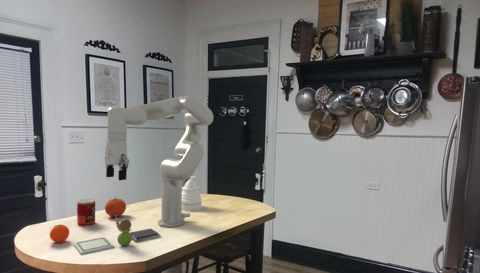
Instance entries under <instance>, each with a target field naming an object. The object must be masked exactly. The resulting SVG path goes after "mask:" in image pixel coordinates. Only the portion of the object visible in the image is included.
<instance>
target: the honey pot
mask: <svg viewBox="0 0 480 273" xmlns="http://www.w3.org/2000/svg"><path fill="white" fill-rule="evenodd" d="M195 179H196V176H195V175H192V176H191V177H190V178H189V179H187V180H186V182H185V184H184V186H182V211H183V212H193V211H199V210H201V209H202V205H203V204H202V202H203V200H202V197H201V193H200V191H199V189H200V187H199V186H197V184H196V182H195Z"/></svg>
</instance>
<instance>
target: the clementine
mask: <svg viewBox="0 0 480 273" xmlns="http://www.w3.org/2000/svg"><path fill="white" fill-rule="evenodd" d="M69 236H70V229H69V227H68V226H67V225H65V224H55V225H53V226H51V229H50V233H49V237H50V240H51V241H52V242H55V243H62V242H65V241H66V240H67V239H68V238H69Z"/></svg>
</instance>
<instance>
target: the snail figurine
mask: <svg viewBox="0 0 480 273" xmlns="http://www.w3.org/2000/svg"><path fill="white" fill-rule="evenodd" d="M114 218H115V220H114V221H115V224H116V228H117V230H118V231H119V234H118V236H117V238H116V239H117V243H118V244H119V246H122V247H125V246H128V245H130V244H131V243H132V241H133V240H132V235H131V234H130V232H131V231H132V228H131V227H132V222H131V220H129V219H127V218H125V219H122V220H121V221H120V219H119V217H118V216H117V215H116V216H115V217H114ZM120 232H121V233H120Z"/></svg>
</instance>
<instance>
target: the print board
mask: <svg viewBox="0 0 480 273" xmlns="http://www.w3.org/2000/svg"><path fill="white" fill-rule="evenodd" d="M73 247H74V248H75V249H76V250H77V252H78V253H79V254H80V255H81V256H82V255H85V254H90V253H94V252H99V251H103V250H105V251H106V250H109V249H113V248H115V245H114V244H113V243H112V241H110V239H108V238H107V237H106V236H101V237H97V238H91V239H87V240H82V241H76V242H75V241H74V242H73Z"/></svg>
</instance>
